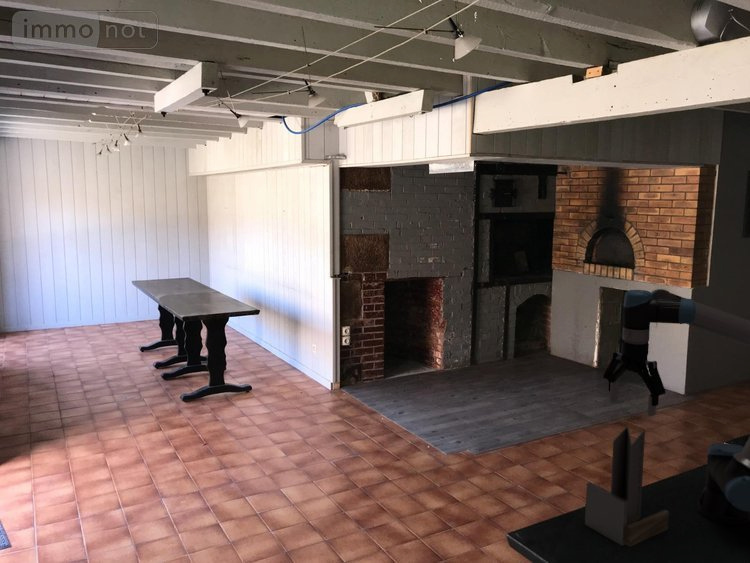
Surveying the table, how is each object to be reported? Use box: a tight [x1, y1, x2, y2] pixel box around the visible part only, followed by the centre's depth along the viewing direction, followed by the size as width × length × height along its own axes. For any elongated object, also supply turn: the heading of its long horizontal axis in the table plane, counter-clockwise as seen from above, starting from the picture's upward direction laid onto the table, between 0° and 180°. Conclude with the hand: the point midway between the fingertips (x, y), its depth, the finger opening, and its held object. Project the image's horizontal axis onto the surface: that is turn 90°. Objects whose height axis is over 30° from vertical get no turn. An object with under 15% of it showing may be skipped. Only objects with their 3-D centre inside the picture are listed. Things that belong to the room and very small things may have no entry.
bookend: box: [584, 481, 628, 547], centre depth 191 cm, size 14×2×14 cm, turn 30°
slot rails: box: [584, 503, 670, 548], centre depth 196 cm, size 17×18×6 cm
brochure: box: [610, 425, 646, 526], centre depth 195 cm, size 14×6×30 cm, turn 142°
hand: (631, 408), depth 191 cm, fingers open, 13 cm apart
